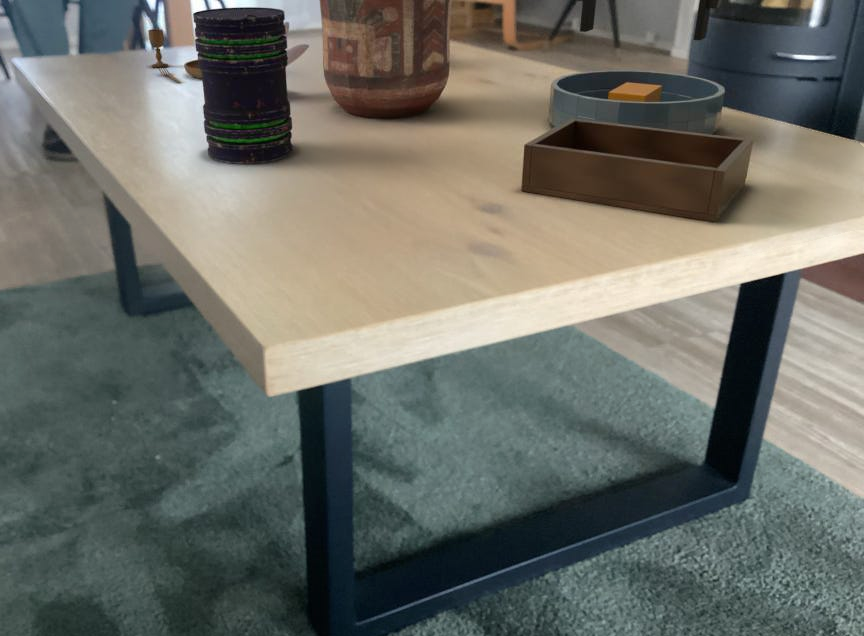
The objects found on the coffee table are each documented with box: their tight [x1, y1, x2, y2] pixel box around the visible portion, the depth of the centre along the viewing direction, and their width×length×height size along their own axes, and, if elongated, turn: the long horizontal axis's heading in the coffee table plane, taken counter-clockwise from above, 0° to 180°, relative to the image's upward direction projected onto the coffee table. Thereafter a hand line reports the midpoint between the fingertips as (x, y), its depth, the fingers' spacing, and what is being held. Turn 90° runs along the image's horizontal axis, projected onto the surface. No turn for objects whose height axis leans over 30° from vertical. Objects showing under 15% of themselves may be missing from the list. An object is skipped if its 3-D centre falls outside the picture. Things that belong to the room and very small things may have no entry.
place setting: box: [148, 28, 202, 83], centre depth 144 cm, size 18×20×6 cm
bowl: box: [547, 69, 726, 135], centre depth 107 cm, size 20×20×5 cm
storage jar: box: [192, 6, 294, 165], centre depth 95 cm, size 10×10×15 cm
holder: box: [520, 118, 754, 223], centre depth 84 cm, size 19×13×5 cm
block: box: [608, 82, 662, 102], centre depth 107 cm, size 4×7×4 cm, turn 149°
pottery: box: [319, 0, 453, 119], centre depth 114 cm, size 18×18×18 cm
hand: (641, 34), depth 103 cm, fingers open, 13 cm apart
